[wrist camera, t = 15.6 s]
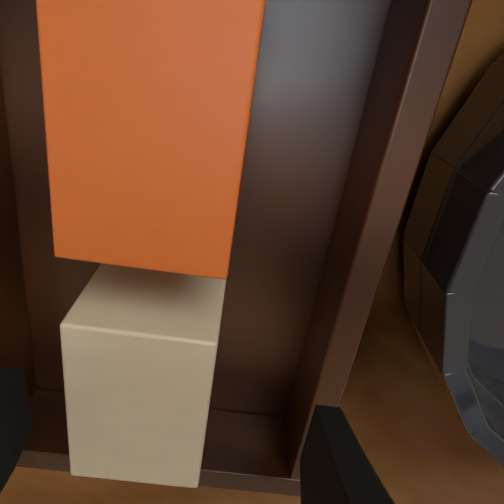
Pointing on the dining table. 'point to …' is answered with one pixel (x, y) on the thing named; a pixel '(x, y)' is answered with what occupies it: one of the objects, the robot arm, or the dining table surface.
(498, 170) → the bowl
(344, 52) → the holder
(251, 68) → the orange rectangular block
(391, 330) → the dining table surface
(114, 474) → the block
